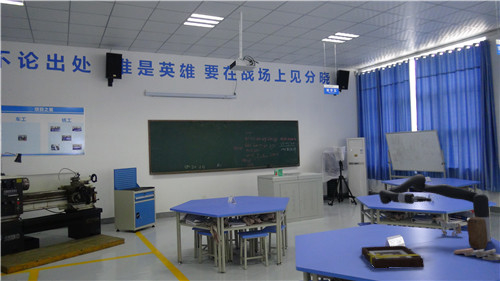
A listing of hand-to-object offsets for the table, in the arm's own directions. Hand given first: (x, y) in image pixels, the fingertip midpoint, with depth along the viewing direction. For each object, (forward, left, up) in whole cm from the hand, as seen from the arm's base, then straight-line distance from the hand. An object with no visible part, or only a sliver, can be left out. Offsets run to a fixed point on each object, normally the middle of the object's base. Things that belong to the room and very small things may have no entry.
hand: (431, 199), depth 248 cm
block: (-13, +23, -32) cm, 42 cm away
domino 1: (+8, +16, -31) cm, 36 cm away
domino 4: (+8, +35, -30) cm, 47 cm away
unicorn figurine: (-35, -3, -32) cm, 48 cm away
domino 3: (+8, +32, -31) cm, 45 cm away
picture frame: (+46, -9, -33) cm, 57 cm away
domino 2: (+8, +22, -31) cm, 39 cm away
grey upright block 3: (+8, +29, -31) cm, 43 cm away
